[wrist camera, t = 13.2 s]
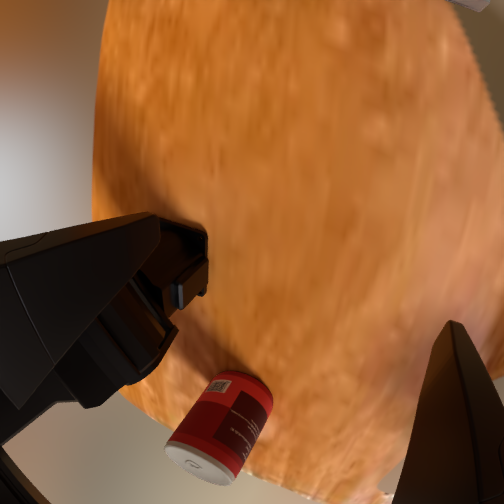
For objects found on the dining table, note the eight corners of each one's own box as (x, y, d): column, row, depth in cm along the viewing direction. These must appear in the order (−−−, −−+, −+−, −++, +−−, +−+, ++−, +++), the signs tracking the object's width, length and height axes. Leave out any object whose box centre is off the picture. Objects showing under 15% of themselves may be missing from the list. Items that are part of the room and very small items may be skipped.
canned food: (208, 389, 38) (160, 456, 29) (223, 357, 33) (166, 436, 24) (261, 419, 36) (221, 491, 28) (286, 392, 32) (241, 479, 23)
